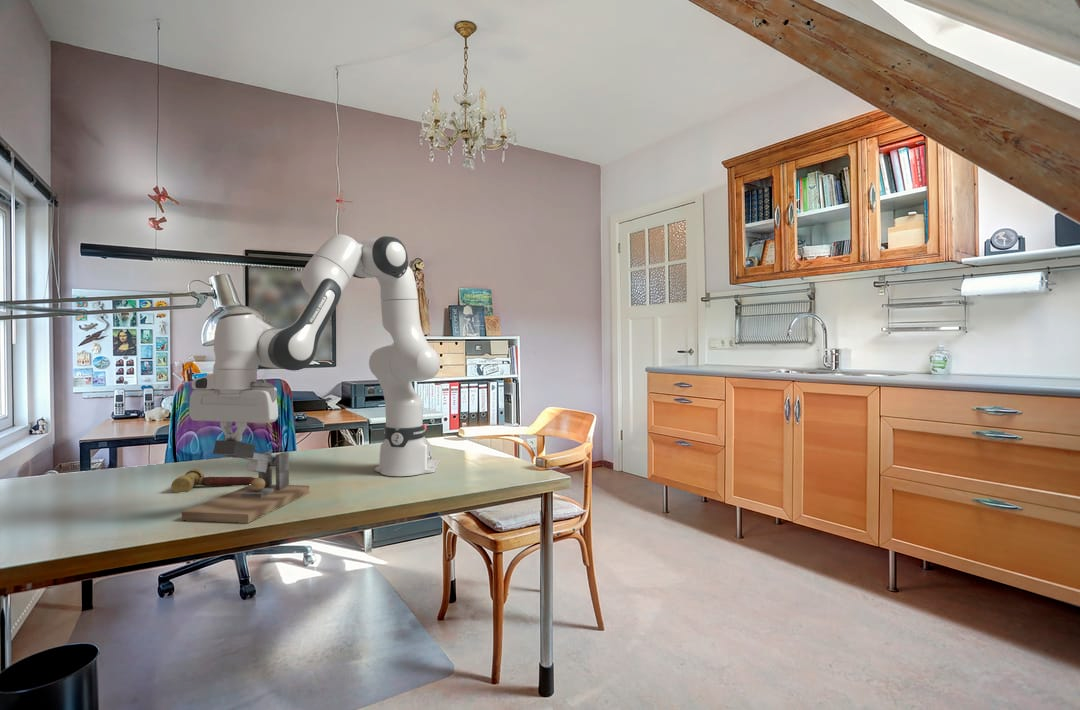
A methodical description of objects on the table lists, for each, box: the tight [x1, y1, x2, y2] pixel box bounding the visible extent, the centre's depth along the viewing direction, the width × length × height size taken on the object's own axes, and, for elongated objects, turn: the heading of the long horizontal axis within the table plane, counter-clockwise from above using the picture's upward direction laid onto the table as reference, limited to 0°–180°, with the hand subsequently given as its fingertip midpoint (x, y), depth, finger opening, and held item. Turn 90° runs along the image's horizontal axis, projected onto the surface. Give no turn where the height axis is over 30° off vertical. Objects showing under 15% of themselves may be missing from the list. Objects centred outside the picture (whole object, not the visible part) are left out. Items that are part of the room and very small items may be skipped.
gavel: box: [170, 468, 256, 494], centre depth 147 cm, size 21×5×10 cm
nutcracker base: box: [181, 451, 310, 524], centre depth 128 cm, size 24×16×11 cm, turn 173°
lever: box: [212, 439, 277, 473], centre depth 128 cm, size 20×5×6 cm, turn 173°
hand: (233, 441), depth 122 cm, fingers closed, pressing on lever
